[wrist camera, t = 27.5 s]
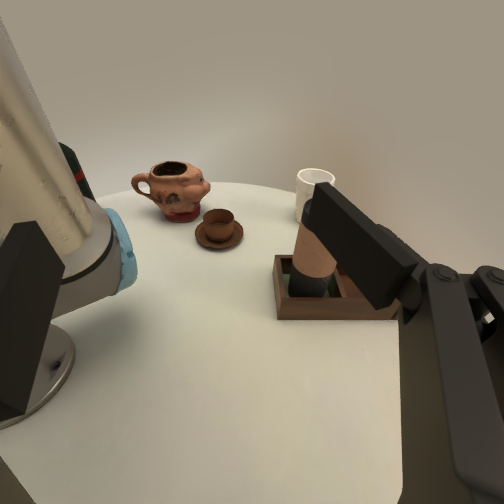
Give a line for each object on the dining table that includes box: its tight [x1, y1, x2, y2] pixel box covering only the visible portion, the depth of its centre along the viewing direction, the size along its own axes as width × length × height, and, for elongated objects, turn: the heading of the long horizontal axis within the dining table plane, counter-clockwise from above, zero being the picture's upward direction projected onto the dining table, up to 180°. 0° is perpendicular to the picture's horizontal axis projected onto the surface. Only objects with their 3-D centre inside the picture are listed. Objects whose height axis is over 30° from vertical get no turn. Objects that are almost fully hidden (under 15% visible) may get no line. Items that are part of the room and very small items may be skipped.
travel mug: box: [288, 198, 337, 298], centre depth 46 cm, size 8×8×20 cm
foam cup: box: [296, 169, 335, 223], centre depth 69 cm, size 10×9×13 cm
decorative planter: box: [131, 161, 210, 222], centre depth 68 cm, size 20×12×14 cm, turn 97°
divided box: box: [273, 255, 400, 320], centre depth 51 cm, size 12×23×6 cm, turn 91°
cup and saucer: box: [195, 209, 243, 248], centre depth 64 cm, size 12×12×6 cm
